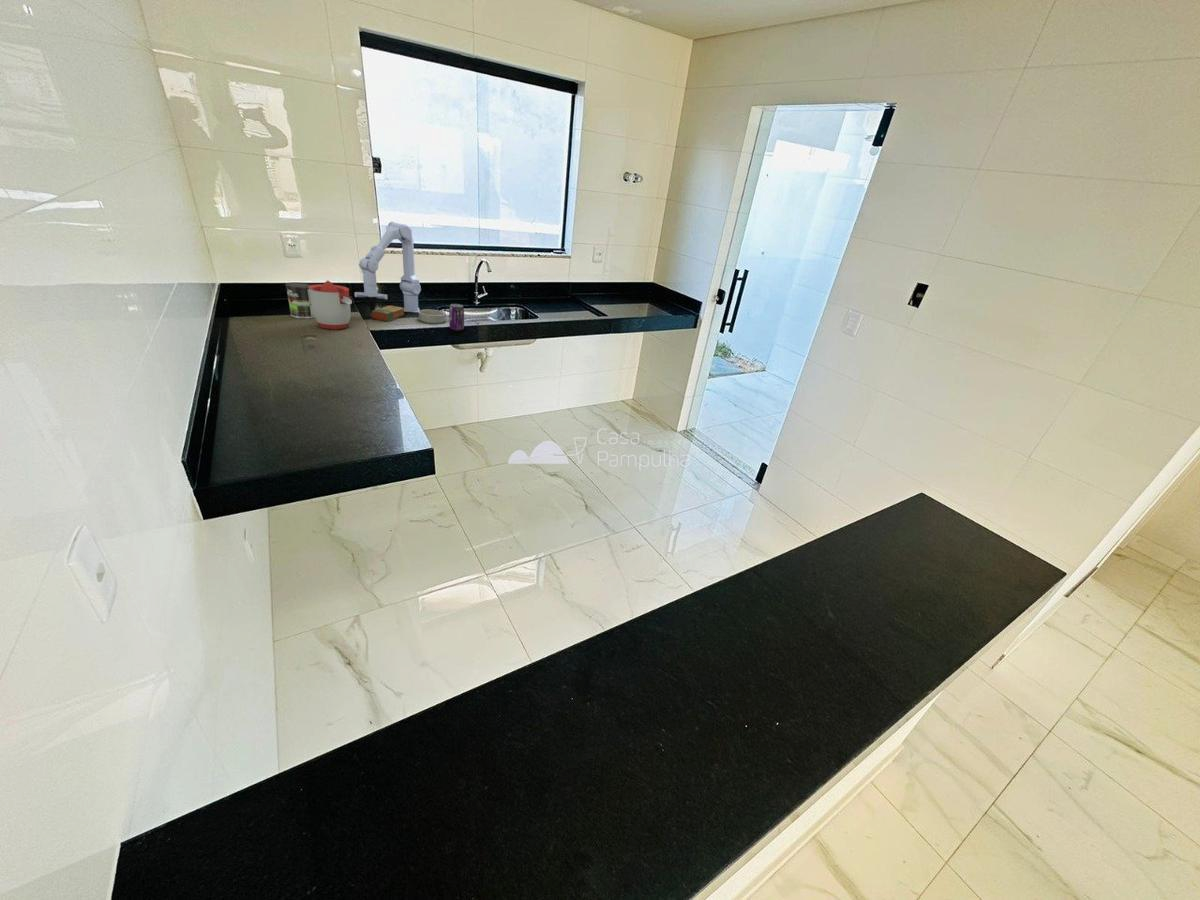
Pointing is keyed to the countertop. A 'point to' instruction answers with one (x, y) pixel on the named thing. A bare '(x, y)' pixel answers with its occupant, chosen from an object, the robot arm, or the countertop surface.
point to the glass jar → (299, 300)
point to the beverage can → (456, 317)
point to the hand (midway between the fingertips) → (372, 312)
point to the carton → (387, 313)
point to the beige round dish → (431, 316)
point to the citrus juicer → (330, 305)
